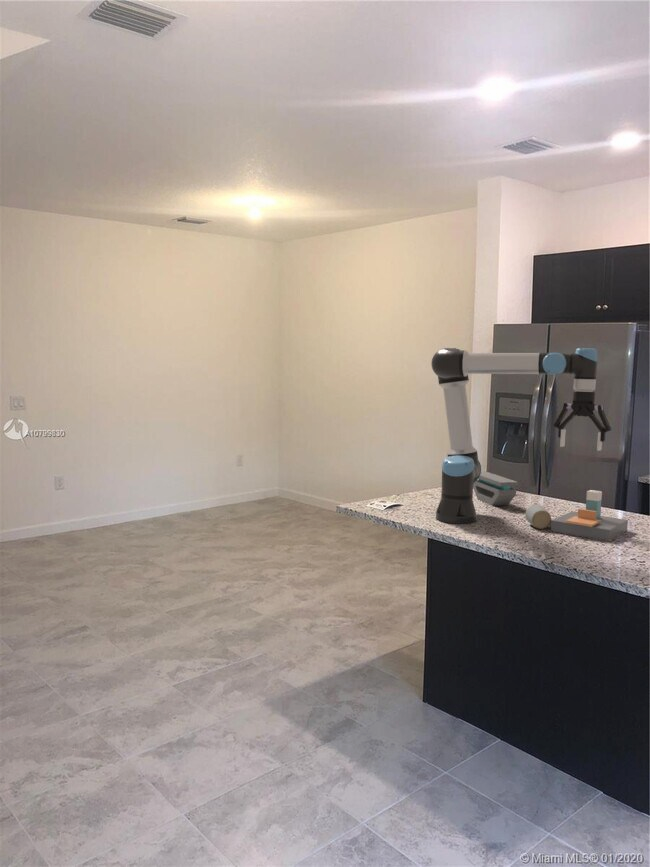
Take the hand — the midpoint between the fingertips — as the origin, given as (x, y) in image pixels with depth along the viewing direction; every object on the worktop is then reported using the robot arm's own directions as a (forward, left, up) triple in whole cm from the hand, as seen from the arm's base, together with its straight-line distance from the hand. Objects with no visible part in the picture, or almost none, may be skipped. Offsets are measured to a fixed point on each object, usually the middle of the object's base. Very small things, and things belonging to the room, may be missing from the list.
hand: (580, 448), depth 257 cm
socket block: (-9, -8, -28) cm, 30 cm away
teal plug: (-6, -8, -28) cm, 30 cm away
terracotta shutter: (-15, -8, -24) cm, 29 cm away
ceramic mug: (-14, +7, -29) cm, 33 cm away
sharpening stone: (+13, +40, -28) cm, 51 cm away
